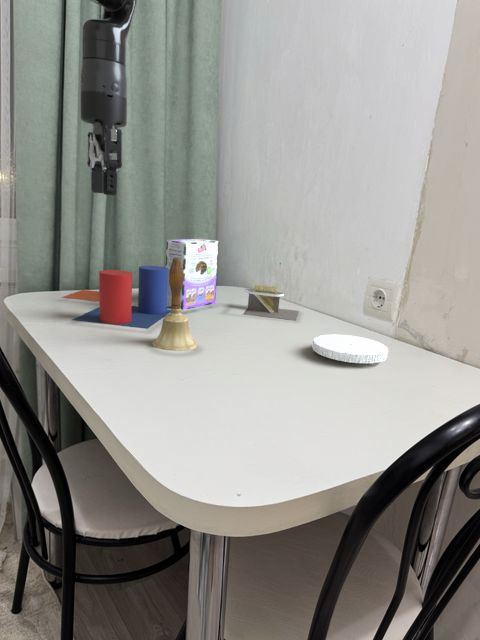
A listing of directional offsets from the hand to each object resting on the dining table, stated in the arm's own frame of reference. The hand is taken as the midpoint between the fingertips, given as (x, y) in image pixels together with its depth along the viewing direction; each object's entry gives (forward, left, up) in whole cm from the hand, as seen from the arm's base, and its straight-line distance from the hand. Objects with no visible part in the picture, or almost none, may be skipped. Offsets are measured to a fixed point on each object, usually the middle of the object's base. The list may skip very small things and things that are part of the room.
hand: (103, 193), depth 90 cm
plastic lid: (+47, +2, -26) cm, 54 cm away
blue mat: (-1, +14, -26) cm, 29 cm away
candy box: (+9, +32, -26) cm, 42 cm away
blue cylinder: (+3, +20, -25) cm, 33 cm away
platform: (+27, +35, -26) cm, 51 cm away
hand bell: (+15, -4, -26) cm, 30 cm away
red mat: (-15, +30, -26) cm, 43 cm away
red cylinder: (-1, +8, -25) cm, 27 cm away
